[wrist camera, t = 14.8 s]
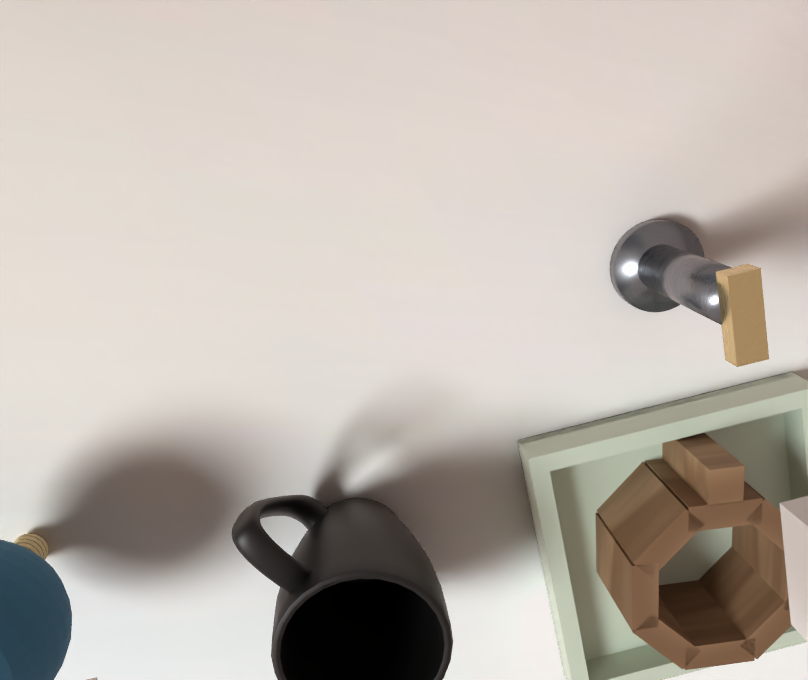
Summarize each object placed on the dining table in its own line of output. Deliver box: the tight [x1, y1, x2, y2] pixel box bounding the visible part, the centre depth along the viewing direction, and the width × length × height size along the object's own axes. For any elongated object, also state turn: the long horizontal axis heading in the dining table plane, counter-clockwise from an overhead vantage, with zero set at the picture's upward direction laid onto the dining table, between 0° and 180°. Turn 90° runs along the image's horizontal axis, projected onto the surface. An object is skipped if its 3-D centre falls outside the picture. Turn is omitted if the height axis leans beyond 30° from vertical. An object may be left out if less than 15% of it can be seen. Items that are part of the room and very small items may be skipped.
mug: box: [232, 495, 453, 680], centre depth 38 cm, size 8×12×10 cm
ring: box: [595, 433, 792, 670], centre depth 42 cm, size 12×10×6 cm
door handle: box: [610, 219, 769, 367], centre depth 36 cm, size 5×5×10 cm
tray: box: [517, 372, 808, 680], centre depth 44 cm, size 16×16×2 cm
